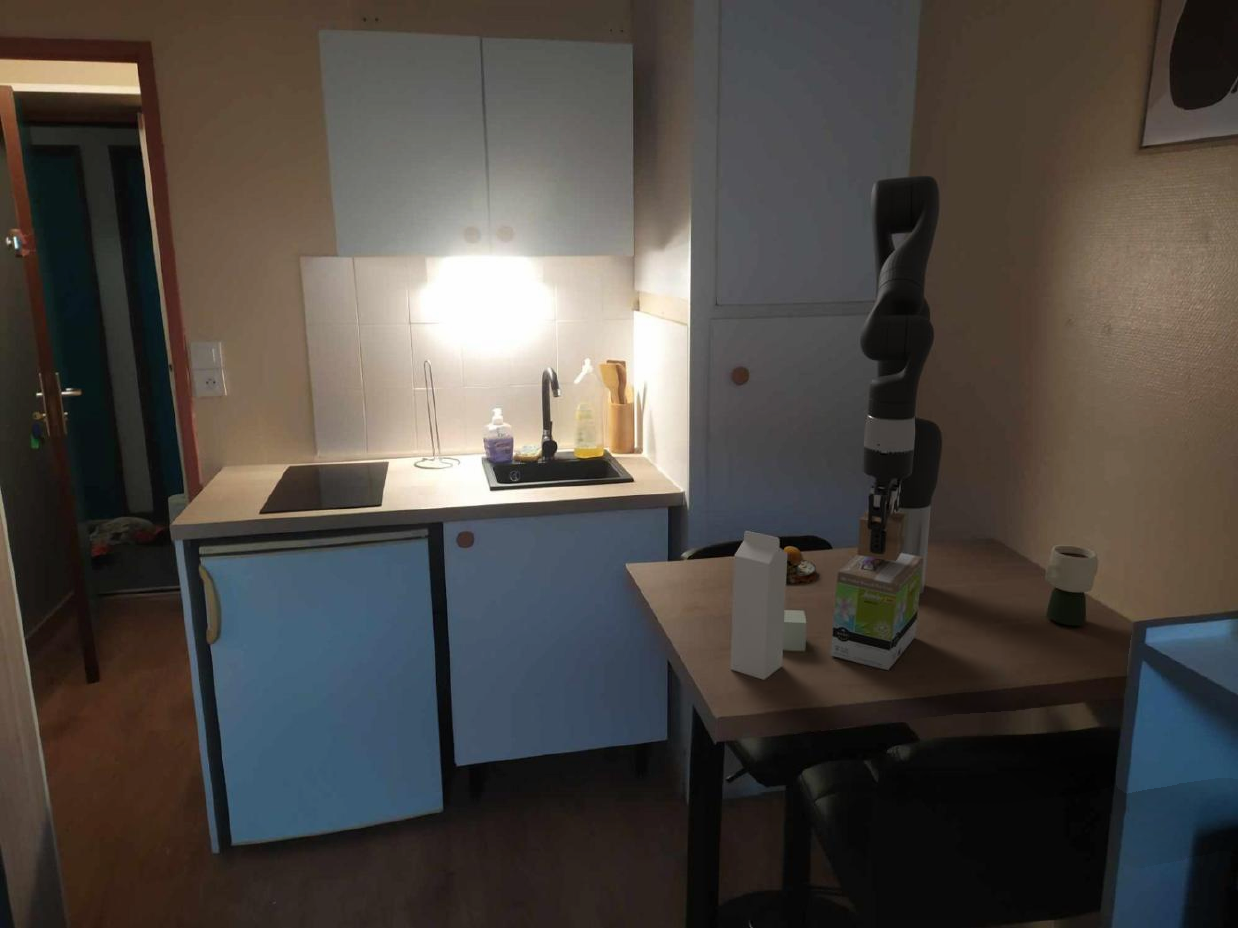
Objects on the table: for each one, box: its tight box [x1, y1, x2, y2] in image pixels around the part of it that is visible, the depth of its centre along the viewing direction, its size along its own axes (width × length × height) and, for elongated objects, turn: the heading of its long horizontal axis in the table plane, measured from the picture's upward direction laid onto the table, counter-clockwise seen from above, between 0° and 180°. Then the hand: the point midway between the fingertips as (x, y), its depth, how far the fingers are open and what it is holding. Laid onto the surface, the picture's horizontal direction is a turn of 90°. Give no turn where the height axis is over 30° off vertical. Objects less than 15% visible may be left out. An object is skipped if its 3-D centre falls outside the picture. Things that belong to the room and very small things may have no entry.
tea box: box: [830, 553, 923, 671], centre depth 152 cm, size 15×10×15 cm
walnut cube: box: [857, 509, 906, 561], centre depth 149 cm, size 6×6×6 cm
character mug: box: [1044, 544, 1099, 627], centre depth 162 cm, size 11×7×13 cm, turn 109°
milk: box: [730, 530, 787, 681], centre depth 144 cm, size 6×6×22 cm
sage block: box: [783, 609, 808, 652], centre depth 154 cm, size 5×5×5 cm
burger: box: [783, 546, 817, 585], centre depth 186 cm, size 12×12×8 cm
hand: (881, 546), depth 150 cm, fingers closed on walnut cube, 6 cm apart
